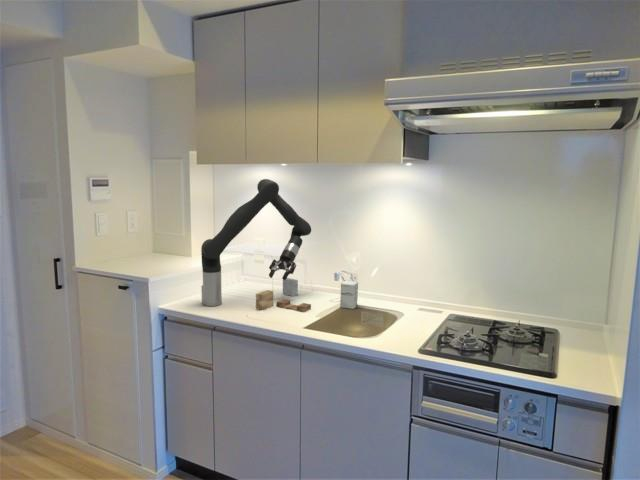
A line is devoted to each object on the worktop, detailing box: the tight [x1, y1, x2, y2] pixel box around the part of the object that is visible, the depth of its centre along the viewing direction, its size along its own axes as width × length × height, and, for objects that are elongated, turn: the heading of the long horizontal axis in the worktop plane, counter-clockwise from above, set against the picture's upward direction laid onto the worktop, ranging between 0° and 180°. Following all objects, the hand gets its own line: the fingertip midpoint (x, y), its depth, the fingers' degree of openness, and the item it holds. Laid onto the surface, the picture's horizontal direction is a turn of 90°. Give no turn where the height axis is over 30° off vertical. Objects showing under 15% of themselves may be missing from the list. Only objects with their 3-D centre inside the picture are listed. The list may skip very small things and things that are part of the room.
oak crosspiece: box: [255, 289, 274, 311], centre depth 233 cm, size 4×9×8 cm, turn 148°
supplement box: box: [339, 280, 359, 310], centre depth 237 cm, size 7×7×13 cm
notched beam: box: [275, 298, 312, 313], centre depth 233 cm, size 17×6×2 cm, turn 58°
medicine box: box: [282, 277, 299, 297], centre depth 258 cm, size 8×4×9 cm, turn 48°
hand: (276, 278), depth 240 cm, fingers open, 8 cm apart
